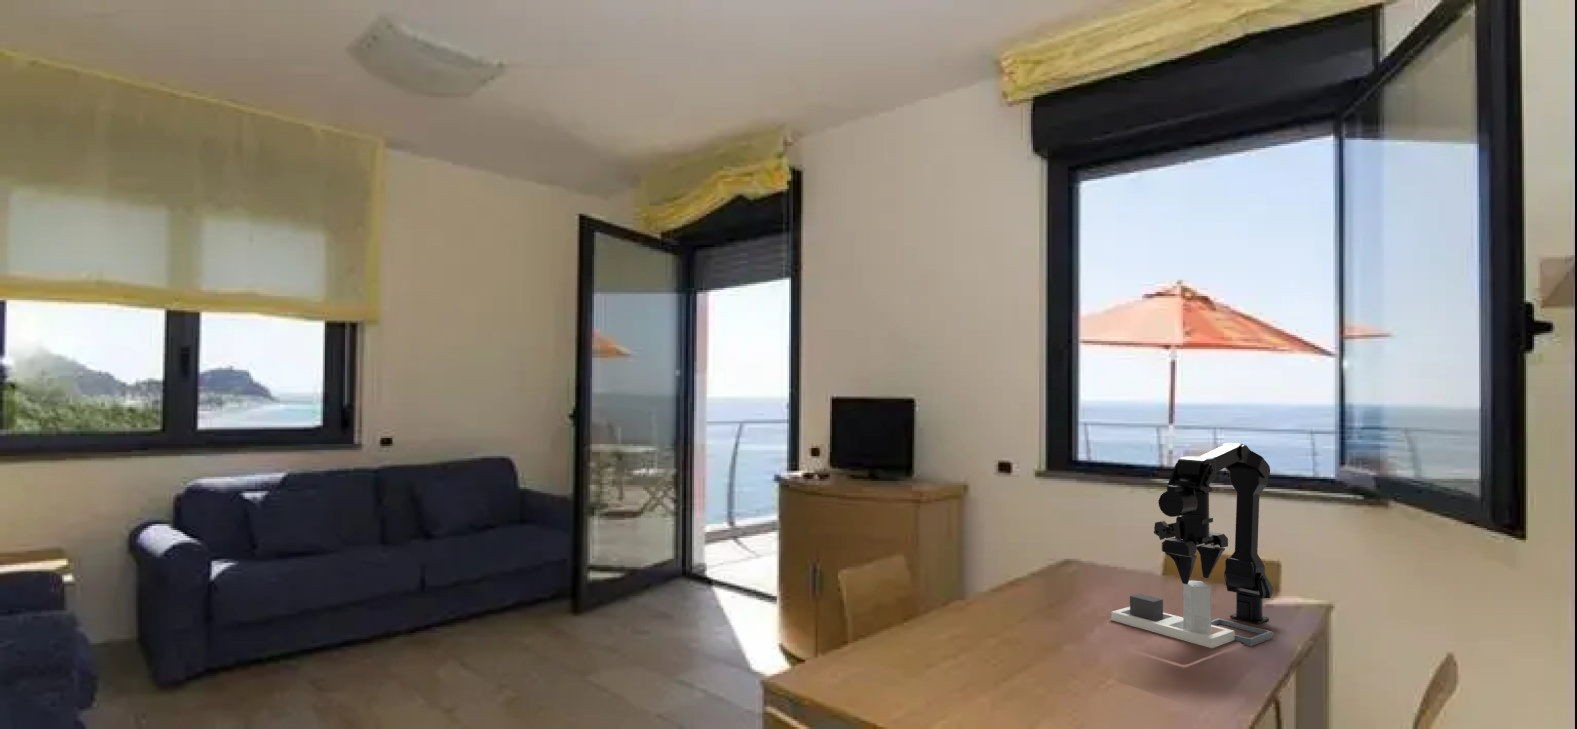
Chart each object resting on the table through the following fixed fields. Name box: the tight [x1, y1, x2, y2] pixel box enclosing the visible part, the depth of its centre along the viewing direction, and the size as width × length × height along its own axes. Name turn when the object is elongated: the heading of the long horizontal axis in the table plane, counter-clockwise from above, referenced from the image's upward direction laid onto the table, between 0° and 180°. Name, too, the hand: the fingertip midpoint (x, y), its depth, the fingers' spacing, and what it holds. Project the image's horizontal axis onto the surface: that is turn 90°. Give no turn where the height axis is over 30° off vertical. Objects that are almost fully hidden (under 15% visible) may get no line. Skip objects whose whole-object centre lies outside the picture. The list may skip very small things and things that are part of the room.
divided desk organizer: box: [1110, 606, 1236, 649], centre depth 182 cm, size 10×24×2 cm, turn 35°
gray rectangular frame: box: [1211, 617, 1273, 647], centre depth 180 cm, size 10×12×2 cm
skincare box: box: [1182, 580, 1212, 636], centre depth 177 cm, size 6×4×12 cm
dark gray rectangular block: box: [1129, 593, 1164, 622], centre depth 187 cm, size 4×6×6 cm, turn 35°
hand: (1195, 580), depth 179 cm, fingers open, 9 cm apart
